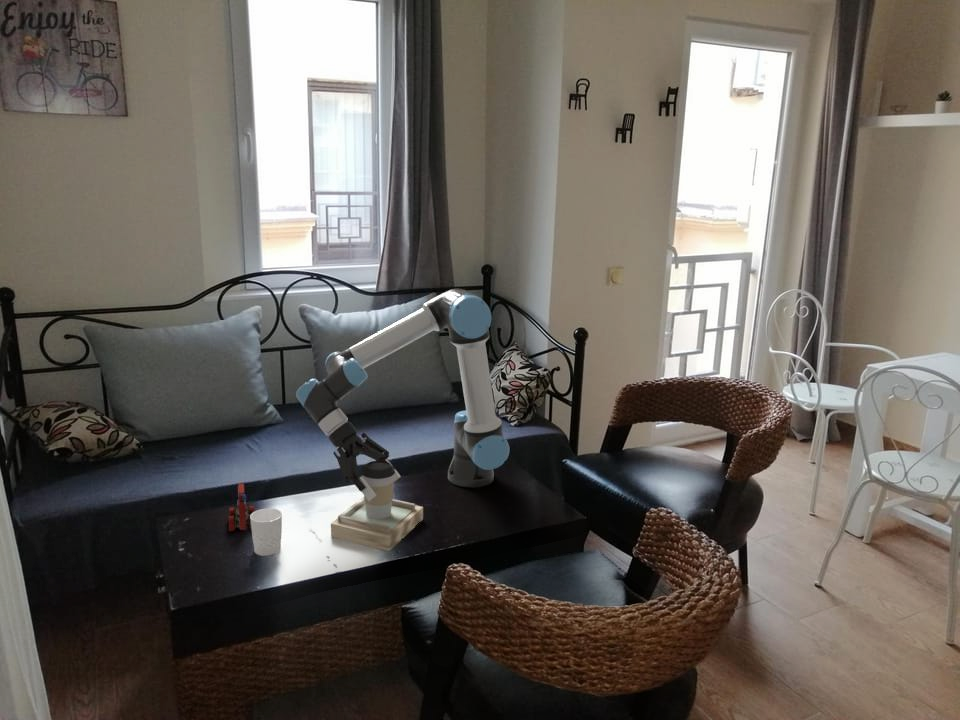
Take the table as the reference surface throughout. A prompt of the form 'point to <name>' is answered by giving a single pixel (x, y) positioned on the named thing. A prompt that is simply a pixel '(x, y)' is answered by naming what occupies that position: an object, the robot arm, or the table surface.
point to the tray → (377, 525)
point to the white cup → (266, 531)
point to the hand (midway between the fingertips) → (385, 488)
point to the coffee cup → (379, 488)
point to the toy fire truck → (240, 512)
